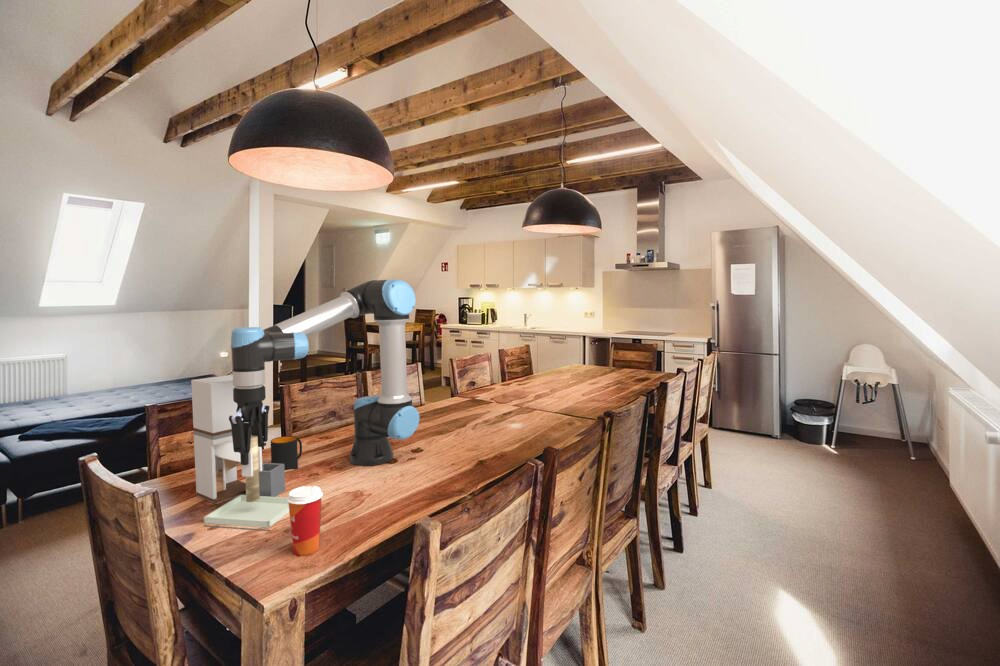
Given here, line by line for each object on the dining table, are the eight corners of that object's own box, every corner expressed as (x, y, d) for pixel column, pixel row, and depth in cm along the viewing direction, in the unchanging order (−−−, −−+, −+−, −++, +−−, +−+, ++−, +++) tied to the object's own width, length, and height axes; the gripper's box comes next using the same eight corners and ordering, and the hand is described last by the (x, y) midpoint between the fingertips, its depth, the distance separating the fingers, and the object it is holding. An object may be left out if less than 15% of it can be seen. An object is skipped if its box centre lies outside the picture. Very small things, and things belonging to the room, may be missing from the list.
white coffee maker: (216, 507, 133) (210, 383, 130) (196, 498, 138) (191, 380, 136) (255, 493, 142) (251, 377, 140) (235, 485, 148) (231, 374, 145)
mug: (311, 463, 168) (310, 434, 168) (284, 474, 157) (283, 444, 156) (292, 460, 171) (292, 432, 171) (265, 471, 160) (264, 441, 159)
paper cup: (295, 542, 114) (293, 485, 113) (328, 540, 114) (326, 484, 113) (283, 559, 106) (281, 499, 105) (318, 558, 107) (316, 497, 106)
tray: (299, 507, 133) (299, 498, 133) (269, 531, 119) (268, 521, 119) (240, 503, 135) (240, 494, 135) (203, 526, 121) (203, 517, 121)
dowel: (262, 497, 128) (260, 435, 127) (254, 502, 125) (252, 439, 124) (251, 497, 129) (249, 435, 127) (243, 501, 125) (241, 438, 124)
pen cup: (285, 493, 142) (284, 463, 142) (271, 502, 136) (270, 472, 135) (264, 491, 143) (263, 462, 143) (249, 501, 137) (248, 470, 136)
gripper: (255, 380, 133) (258, 462, 135) (213, 391, 117) (217, 484, 119) (280, 381, 132) (283, 463, 134) (241, 392, 116) (245, 485, 118)
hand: (252, 473), depth 126 cm, fingers closed on dowel, 3 cm apart
